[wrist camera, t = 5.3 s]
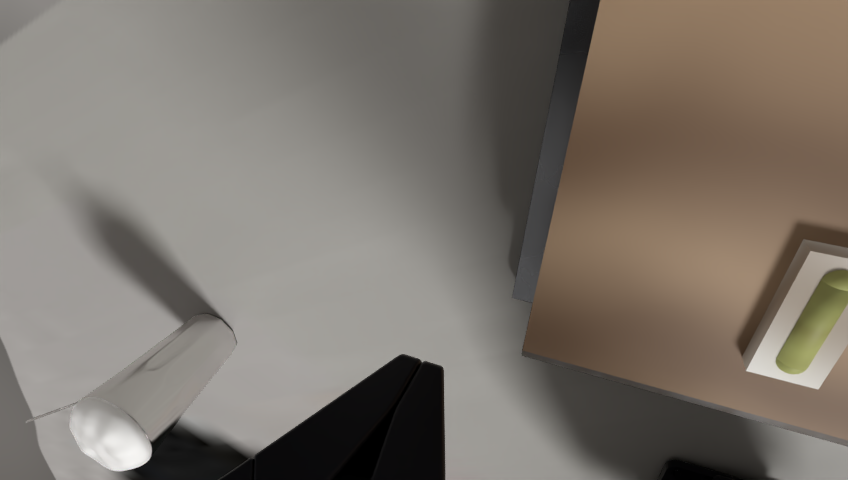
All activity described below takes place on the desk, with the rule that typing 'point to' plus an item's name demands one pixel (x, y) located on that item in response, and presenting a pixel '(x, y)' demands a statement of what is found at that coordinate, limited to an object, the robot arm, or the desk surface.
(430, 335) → the desk surface
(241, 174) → the desk surface
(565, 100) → the base
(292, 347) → the desk surface
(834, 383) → the top plate
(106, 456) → the milkshake
